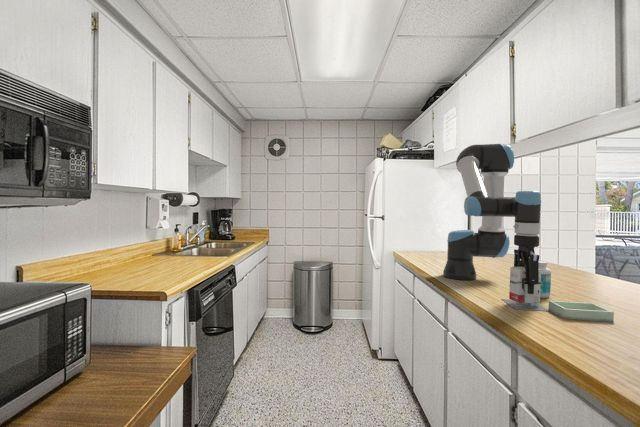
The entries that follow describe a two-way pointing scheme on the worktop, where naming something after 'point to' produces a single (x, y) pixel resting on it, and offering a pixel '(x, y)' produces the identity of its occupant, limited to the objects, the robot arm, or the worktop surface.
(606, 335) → the worktop surface
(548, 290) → the pill bottle
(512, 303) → the label
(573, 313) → the tray
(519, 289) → the ink box
